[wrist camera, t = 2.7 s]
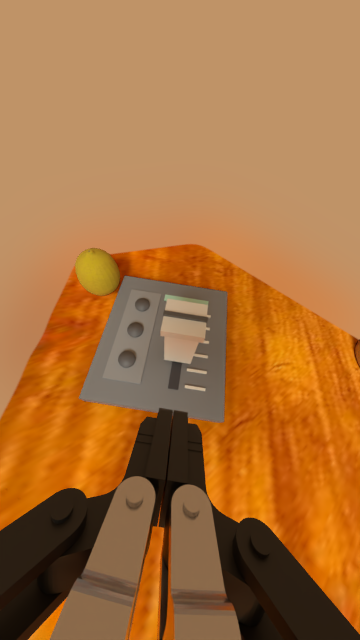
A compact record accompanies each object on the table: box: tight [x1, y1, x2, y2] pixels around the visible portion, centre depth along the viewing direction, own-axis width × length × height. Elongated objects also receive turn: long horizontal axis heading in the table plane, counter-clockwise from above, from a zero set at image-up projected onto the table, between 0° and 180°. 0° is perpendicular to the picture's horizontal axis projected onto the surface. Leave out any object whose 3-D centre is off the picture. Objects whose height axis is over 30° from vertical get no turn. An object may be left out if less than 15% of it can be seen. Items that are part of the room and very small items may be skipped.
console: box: [79, 276, 227, 423], centre depth 27 cm, size 16×18×3 cm
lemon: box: [75, 248, 120, 296], centre depth 28 cm, size 6×6×8 cm
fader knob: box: [160, 299, 208, 364], centre depth 21 cm, size 4×3×8 cm
